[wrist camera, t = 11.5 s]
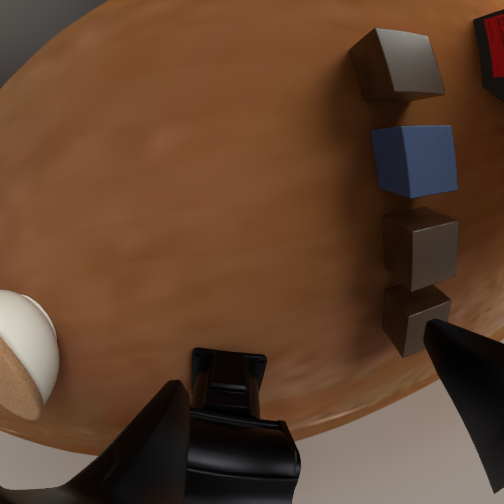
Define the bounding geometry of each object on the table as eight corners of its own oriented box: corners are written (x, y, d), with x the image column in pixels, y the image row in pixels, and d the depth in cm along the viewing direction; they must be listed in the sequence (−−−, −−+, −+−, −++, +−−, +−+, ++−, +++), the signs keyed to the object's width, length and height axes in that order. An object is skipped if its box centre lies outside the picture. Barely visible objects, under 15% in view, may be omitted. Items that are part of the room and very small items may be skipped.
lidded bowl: (96, 367, 24) (56, 446, 13) (31, 365, 24) (-7, 420, 14) (42, 260, 19) (-37, 321, 9) (-14, 279, 20) (-71, 325, 10)
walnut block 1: (411, 101, 16) (445, 94, 12) (364, 102, 16) (394, 91, 12) (397, 51, 14) (427, 35, 10) (349, 48, 15) (374, 27, 10)
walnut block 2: (425, 255, 20) (455, 276, 16) (384, 267, 21) (410, 292, 16) (425, 206, 19) (458, 220, 15) (381, 215, 19) (412, 231, 15)
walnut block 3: (420, 316, 23) (443, 341, 18) (382, 329, 23) (402, 358, 19) (424, 276, 21) (451, 299, 17) (384, 289, 21) (408, 316, 17)
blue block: (423, 181, 18) (458, 190, 14) (378, 188, 18) (410, 199, 14) (416, 127, 17) (451, 125, 12) (369, 129, 17) (401, 126, 13)
